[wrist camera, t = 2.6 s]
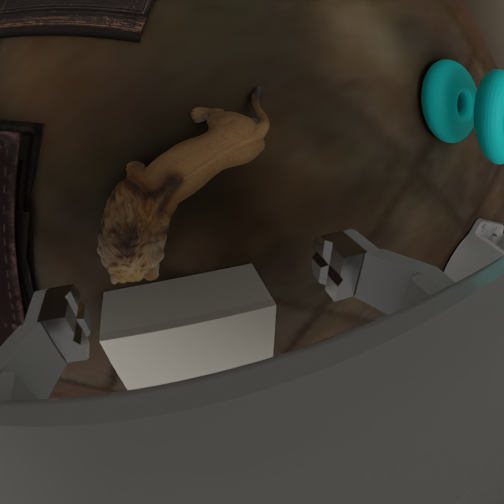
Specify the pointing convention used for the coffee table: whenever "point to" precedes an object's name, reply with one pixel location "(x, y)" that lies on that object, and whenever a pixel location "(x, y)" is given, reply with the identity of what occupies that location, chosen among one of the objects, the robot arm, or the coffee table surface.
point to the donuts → (465, 106)
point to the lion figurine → (172, 189)
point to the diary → (16, 221)
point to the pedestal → (187, 326)
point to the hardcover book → (75, 18)
